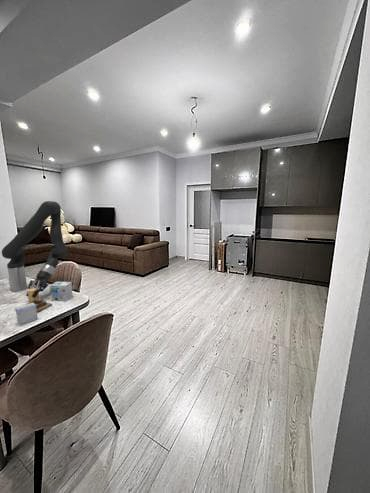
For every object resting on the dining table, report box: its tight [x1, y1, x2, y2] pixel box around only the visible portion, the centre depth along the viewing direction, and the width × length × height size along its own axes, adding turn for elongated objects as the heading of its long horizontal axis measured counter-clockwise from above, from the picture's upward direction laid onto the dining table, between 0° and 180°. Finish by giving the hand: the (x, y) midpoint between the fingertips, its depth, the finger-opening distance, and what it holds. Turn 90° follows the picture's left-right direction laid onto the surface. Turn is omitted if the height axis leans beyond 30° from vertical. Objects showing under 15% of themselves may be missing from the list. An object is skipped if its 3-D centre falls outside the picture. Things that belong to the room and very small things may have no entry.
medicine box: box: [14, 302, 38, 326], centre depth 105 cm, size 8×4×9 cm, turn 141°
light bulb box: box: [49, 281, 74, 302], centre depth 131 cm, size 11×7×11 cm, turn 88°
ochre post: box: [26, 287, 40, 303], centre depth 127 cm, size 4×4×8 cm
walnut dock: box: [24, 300, 53, 314], centre depth 118 cm, size 12×12×3 cm
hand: (30, 296), depth 125 cm, fingers closed on ochre post, 4 cm apart
